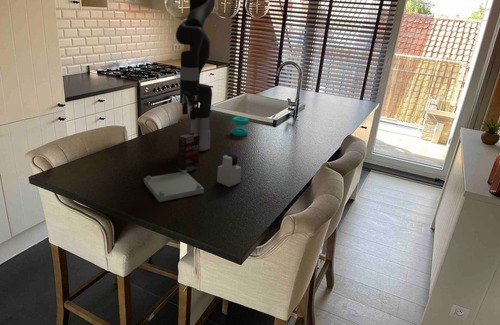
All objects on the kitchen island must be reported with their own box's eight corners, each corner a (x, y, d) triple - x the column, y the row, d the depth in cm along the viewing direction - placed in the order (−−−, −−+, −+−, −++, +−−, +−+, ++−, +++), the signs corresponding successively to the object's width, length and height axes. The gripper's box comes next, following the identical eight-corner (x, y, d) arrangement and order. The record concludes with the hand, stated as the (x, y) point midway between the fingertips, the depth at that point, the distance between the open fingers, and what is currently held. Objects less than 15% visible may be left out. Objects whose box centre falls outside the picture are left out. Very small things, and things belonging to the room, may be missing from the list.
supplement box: (185, 173, 159) (185, 138, 153) (177, 170, 161) (177, 136, 155) (199, 168, 165) (200, 134, 159) (191, 165, 168) (192, 132, 162)
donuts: (232, 115, 217) (249, 116, 217) (231, 131, 221) (248, 132, 221) (231, 119, 208) (248, 121, 208) (230, 136, 212) (247, 137, 212)
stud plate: (185, 175, 156) (185, 169, 155) (203, 193, 143) (204, 186, 141) (144, 182, 147) (143, 175, 146) (159, 202, 133) (159, 194, 132)
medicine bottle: (228, 177, 158) (229, 151, 154) (240, 182, 154) (242, 156, 150) (216, 181, 153) (218, 155, 149) (229, 187, 149) (230, 160, 145)
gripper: (205, 81, 144) (204, 120, 151) (191, 75, 156) (190, 112, 162) (187, 81, 141) (187, 122, 147) (174, 75, 152) (174, 113, 158)
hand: (188, 116), depth 154 cm, fingers open, 8 cm apart
